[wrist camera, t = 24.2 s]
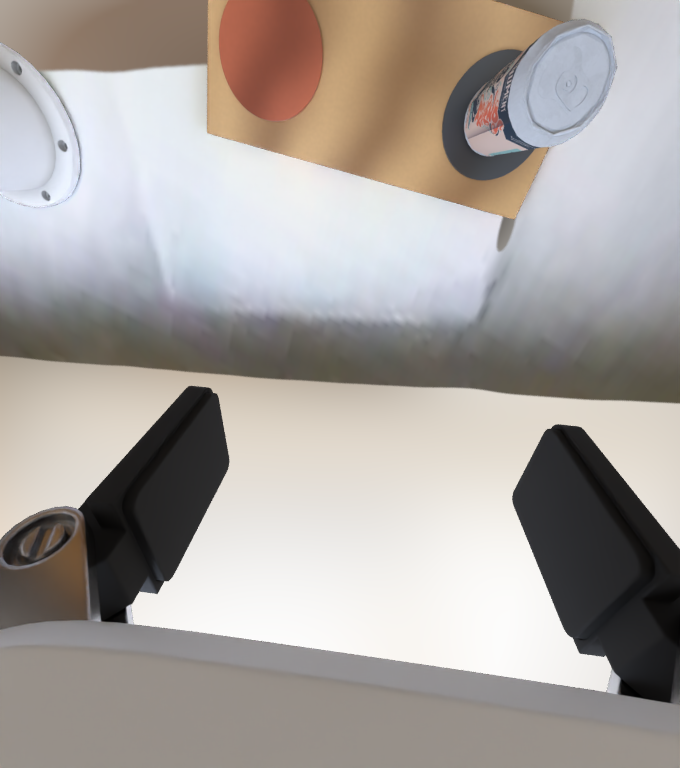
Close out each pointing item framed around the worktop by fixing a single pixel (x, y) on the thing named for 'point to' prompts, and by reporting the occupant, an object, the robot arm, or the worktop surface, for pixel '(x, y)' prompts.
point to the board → (372, 88)
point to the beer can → (544, 91)
